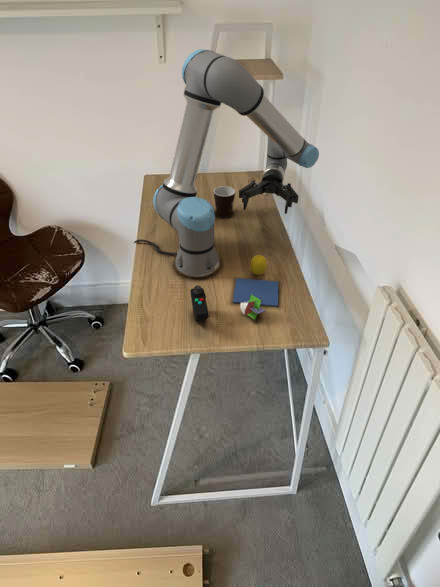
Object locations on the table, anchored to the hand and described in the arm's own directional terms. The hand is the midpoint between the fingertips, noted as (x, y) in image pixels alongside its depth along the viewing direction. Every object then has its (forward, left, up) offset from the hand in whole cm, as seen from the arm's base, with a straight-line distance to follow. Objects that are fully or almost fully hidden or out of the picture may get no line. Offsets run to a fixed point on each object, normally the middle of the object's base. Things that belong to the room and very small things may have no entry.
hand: (265, 208), depth 142 cm
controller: (-17, -34, -20) cm, 43 cm away
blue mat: (-1, -19, -20) cm, 28 cm away
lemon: (-1, -10, -20) cm, 22 cm away
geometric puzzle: (-1, -30, -20) cm, 36 cm away
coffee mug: (-16, +31, -20) cm, 40 cm away
